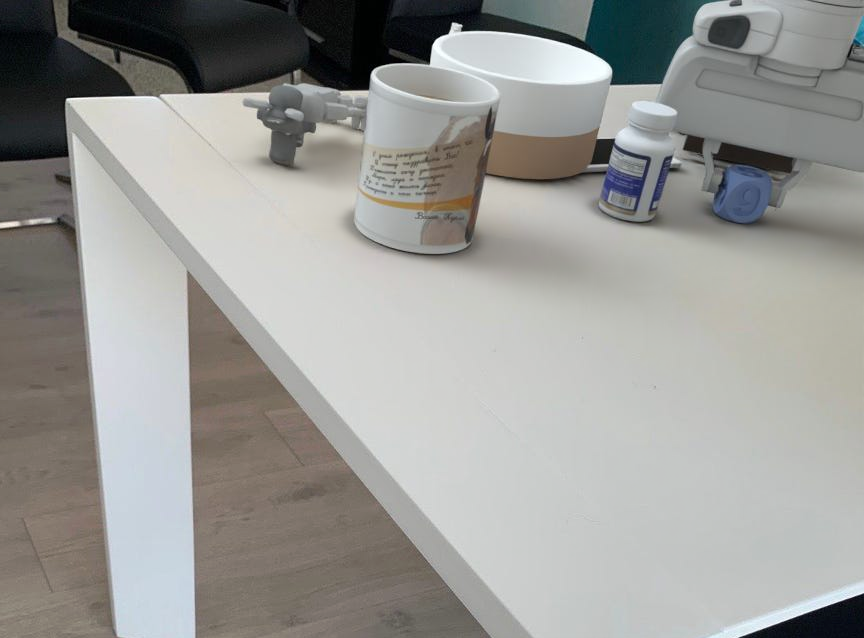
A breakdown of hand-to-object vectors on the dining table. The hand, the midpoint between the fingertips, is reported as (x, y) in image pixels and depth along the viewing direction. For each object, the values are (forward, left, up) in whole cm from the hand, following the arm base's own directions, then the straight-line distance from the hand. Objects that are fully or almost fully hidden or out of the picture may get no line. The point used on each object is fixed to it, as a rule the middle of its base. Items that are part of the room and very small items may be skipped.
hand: (740, 198), depth 96 cm
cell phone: (+14, -8, -2) cm, 16 cm away
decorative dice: (0, 0, -2) cm, 2 cm away
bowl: (+23, -4, -2) cm, 23 cm away
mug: (+26, +21, -2) cm, 33 cm away
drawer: (0, -19, -1) cm, 19 cm away
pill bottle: (+10, +6, -2) cm, 12 cm away
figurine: (+39, +8, -2) cm, 40 cm away
